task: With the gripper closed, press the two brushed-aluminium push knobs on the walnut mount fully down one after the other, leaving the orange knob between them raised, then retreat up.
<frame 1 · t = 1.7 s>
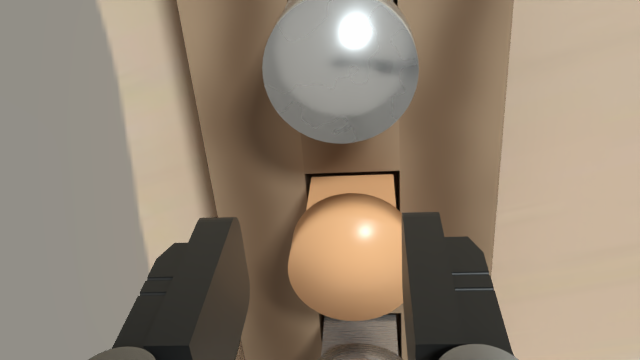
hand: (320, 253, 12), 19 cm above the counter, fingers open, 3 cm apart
knob a: (342, 51, 24), point 6 cm above the counter, slide at 2.5 cm
knob mount: (355, 177, 33), on the counter
knob mid: (353, 238, 28), point 6 cm above the counter, slide at 2.5 cm
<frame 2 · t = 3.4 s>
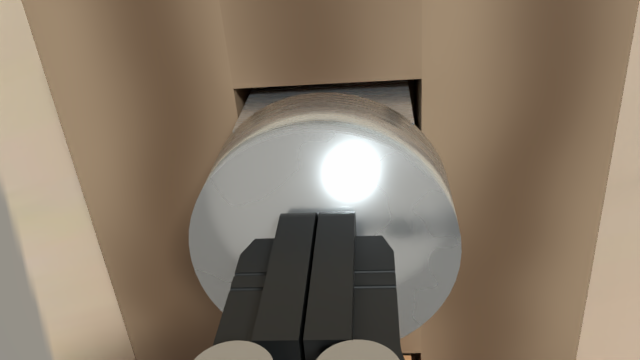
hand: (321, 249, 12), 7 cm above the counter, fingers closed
knob a: (329, 193, 14), point 5 cm above the counter, slide at 1.5 cm, touching gripper
knob mount: (353, 327, 23), on the counter
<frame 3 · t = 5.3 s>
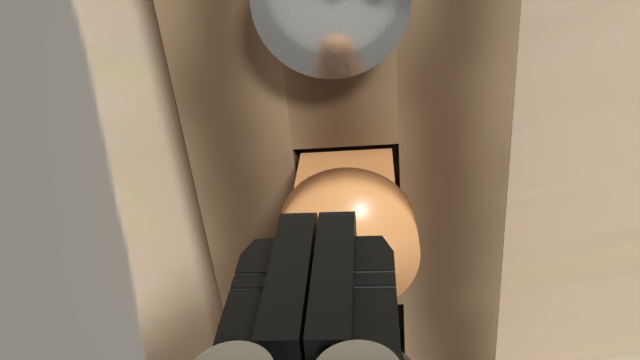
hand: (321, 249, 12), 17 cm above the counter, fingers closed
knob mount: (350, 155, 30), on the counter
knob mid: (347, 220, 25), point 6 cm above the counter, slide at 2.5 cm
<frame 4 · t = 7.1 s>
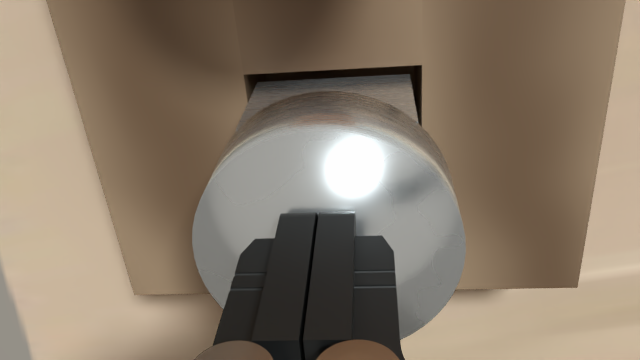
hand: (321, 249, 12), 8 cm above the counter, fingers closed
knob b: (333, 192, 14), point 6 cm above the counter, slide at 2.5 cm, touching gripper
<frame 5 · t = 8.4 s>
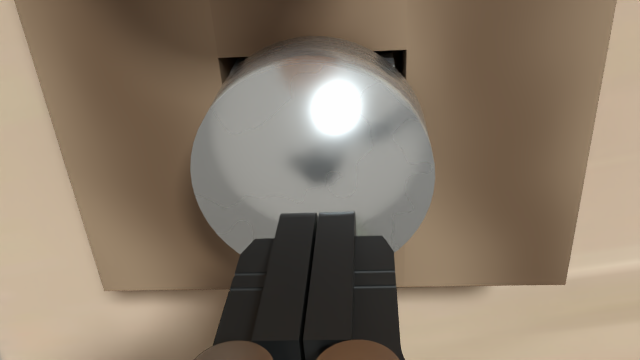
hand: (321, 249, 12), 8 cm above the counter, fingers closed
knob b: (317, 134, 16), point 3 cm above the counter, slide at -0.1 cm
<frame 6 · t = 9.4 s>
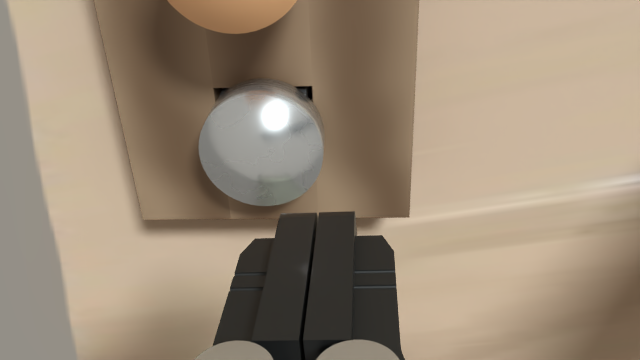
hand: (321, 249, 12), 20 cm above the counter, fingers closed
knob b: (267, 129, 29), point 3 cm above the counter, slide at -0.1 cm
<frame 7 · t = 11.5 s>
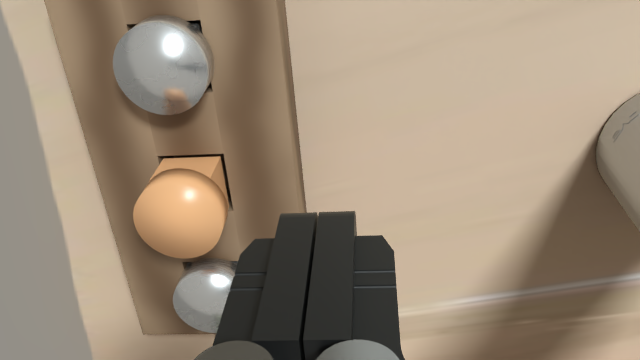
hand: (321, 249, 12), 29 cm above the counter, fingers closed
knob b: (217, 283, 46), point 3 cm above the counter, slide at -0.1 cm
knob a: (171, 57, 37), point 3 cm above the counter, slide at -0.1 cm
knob mount: (208, 160, 45), on the counter
knob mid: (187, 201, 39), point 6 cm above the counter, slide at 2.5 cm
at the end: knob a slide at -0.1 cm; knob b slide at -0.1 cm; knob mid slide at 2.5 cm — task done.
